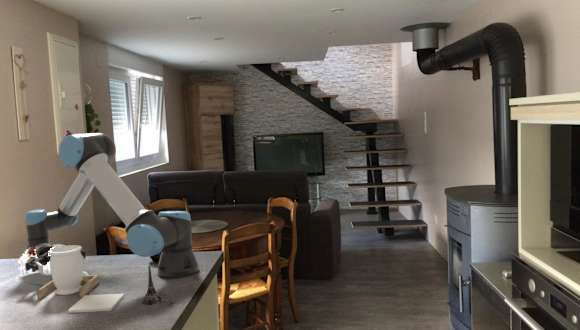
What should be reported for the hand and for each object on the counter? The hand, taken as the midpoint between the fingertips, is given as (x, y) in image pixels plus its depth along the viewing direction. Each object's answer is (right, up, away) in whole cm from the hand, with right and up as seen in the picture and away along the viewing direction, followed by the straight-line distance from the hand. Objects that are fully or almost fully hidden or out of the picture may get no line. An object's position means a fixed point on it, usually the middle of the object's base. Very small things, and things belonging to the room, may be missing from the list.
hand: (63, 264), depth 177 cm
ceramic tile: (+18, -9, -15) cm, 25 cm away
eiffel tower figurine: (+36, -9, -16) cm, 40 cm away
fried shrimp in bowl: (+27, -5, +36) cm, 45 cm away
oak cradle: (+3, -9, -1) cm, 9 cm away
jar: (+3, -9, -1) cm, 10 cm away
